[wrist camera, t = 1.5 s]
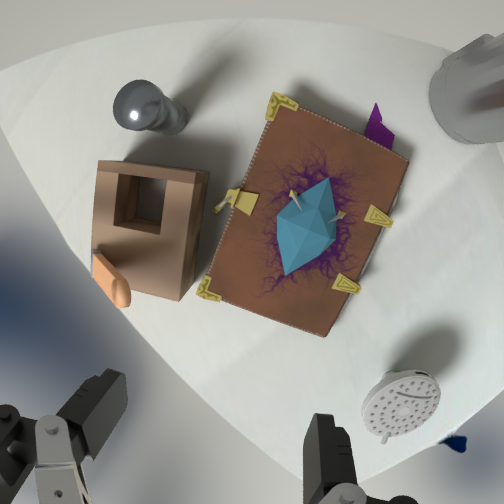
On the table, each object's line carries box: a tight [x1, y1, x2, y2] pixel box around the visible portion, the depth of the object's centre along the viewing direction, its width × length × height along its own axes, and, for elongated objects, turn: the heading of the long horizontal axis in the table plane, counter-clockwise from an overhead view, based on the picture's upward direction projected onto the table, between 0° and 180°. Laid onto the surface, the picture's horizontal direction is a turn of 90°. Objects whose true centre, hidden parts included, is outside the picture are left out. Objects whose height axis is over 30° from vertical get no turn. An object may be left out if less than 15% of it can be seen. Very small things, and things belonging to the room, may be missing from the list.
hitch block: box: [91, 160, 209, 302], centre depth 30 cm, size 12×10×5 cm
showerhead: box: [361, 370, 441, 444], centre depth 31 cm, size 9×7×10 cm
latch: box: [91, 249, 131, 308], centre depth 26 cm, size 3×9×1 cm
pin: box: [113, 80, 188, 135], centre depth 26 cm, size 4×4×9 cm
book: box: [196, 92, 409, 338], centre depth 29 cm, size 16×25×5 cm, turn 158°
